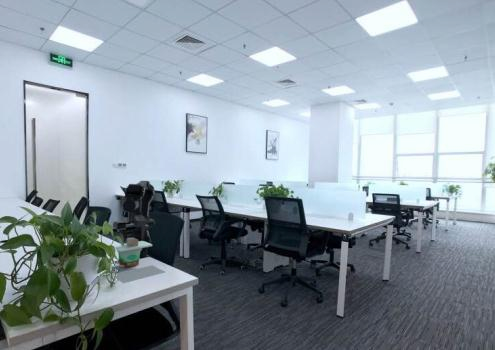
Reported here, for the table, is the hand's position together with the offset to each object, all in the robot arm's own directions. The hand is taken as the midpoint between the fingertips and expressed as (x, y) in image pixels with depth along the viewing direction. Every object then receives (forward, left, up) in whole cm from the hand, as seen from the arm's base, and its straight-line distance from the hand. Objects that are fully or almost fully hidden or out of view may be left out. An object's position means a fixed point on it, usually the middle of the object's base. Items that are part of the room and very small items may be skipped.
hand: (133, 240), depth 137 cm
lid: (-2, 0, -3) cm, 4 cm away
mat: (+11, -2, -13) cm, 17 cm away
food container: (-1, 0, -13) cm, 13 cm away
